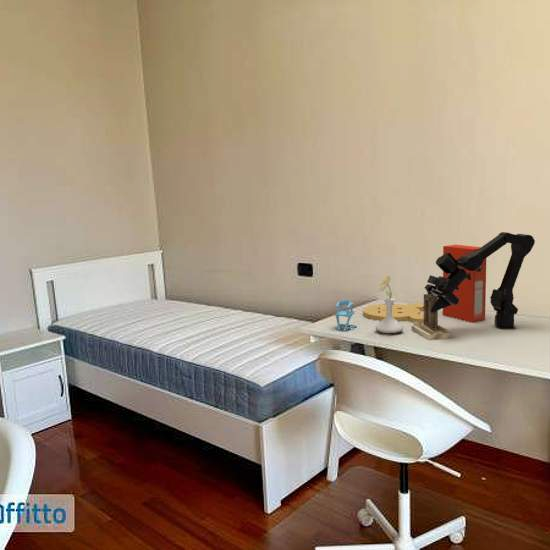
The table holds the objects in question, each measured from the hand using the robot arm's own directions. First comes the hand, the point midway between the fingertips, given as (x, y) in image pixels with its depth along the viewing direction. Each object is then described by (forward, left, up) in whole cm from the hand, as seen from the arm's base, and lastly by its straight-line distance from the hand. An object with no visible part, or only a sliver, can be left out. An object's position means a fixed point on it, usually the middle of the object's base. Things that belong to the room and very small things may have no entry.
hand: (427, 310), depth 211 cm
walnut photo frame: (-1, 0, -7) cm, 7 cm away
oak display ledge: (-1, 0, -10) cm, 10 cm away
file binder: (-20, -26, -10) cm, 35 cm away
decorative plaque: (+9, -33, -11) cm, 36 cm away
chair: (+33, -9, -10) cm, 36 cm away
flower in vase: (+15, -3, -10) cm, 18 cm away
